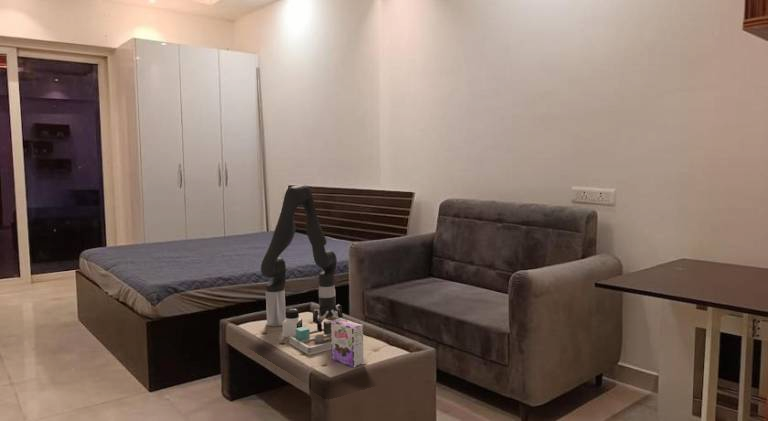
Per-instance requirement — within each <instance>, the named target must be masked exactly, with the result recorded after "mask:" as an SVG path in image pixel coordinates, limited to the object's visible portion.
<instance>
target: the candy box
mask: <svg viewBox="0 0 768 421" xmlns="http://www.w3.org/2000/svg"><path fill="white" fill-rule="evenodd" d="M334 319H335V318H334ZM334 319H332V320H330V321H331V348H332V349H331V360H333V361H336V362H338V363H340V362H341V364H343V363H344V365H345V364H346V365H345V366H348V367H350V368H354V369H355V368H358V367H360V366H362V365H364V325H363V324H360V323H357V322H355V321H351V320H348V319H345V318H344V317H342V318H338V319H335V320H334Z"/></svg>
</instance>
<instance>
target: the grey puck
mask: <svg viewBox="0 0 768 421" xmlns="http://www.w3.org/2000/svg"><path fill="white" fill-rule="evenodd" d="M315 342H316V344H322V343H324V335H321V334H319V335H316V336H315Z"/></svg>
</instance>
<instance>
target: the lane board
mask: <svg viewBox="0 0 768 421" xmlns="http://www.w3.org/2000/svg"><path fill="white" fill-rule="evenodd" d="M309 331H310V334H313V333H317V332H319V331H318V330H317V329H313V330H309ZM322 331H324V327H322ZM328 337H331V334H327V335H324V338H328ZM295 338H296V334H295V335H291V336H289V337H288V343H289V344H291V345H292V346H293V347H295V348H297V349H298V350H300V351H301V352H303V353H305V354H306V355H308V356H310V355H314V354H318V353H323V352H326V351H330V350H332V348H331V342H327V343H323V344H319V345H315V346H312V347H309V346H307V345H306V344H304V343H308V342H312V341H315V338H311V339H306V340H302V341H299V340H297V339H295Z"/></svg>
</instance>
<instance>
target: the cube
mask: <svg viewBox="0 0 768 421" xmlns="http://www.w3.org/2000/svg"><path fill="white" fill-rule="evenodd" d="M310 331H311V330H310V328H308V327H306V326H302V327H300V328H296V339H298V340H300V341H302V340H306V339H310Z"/></svg>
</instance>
